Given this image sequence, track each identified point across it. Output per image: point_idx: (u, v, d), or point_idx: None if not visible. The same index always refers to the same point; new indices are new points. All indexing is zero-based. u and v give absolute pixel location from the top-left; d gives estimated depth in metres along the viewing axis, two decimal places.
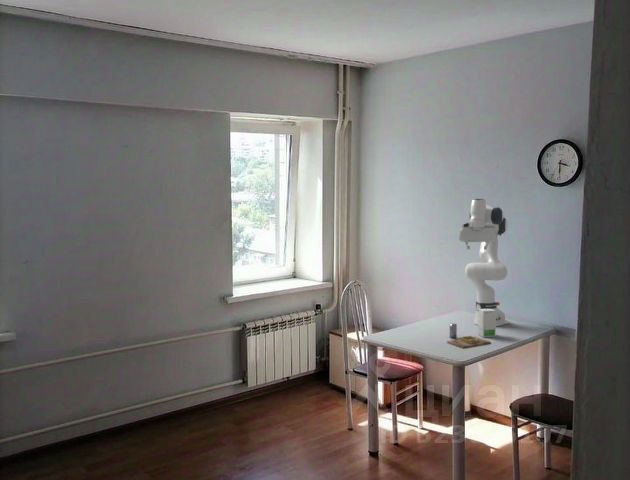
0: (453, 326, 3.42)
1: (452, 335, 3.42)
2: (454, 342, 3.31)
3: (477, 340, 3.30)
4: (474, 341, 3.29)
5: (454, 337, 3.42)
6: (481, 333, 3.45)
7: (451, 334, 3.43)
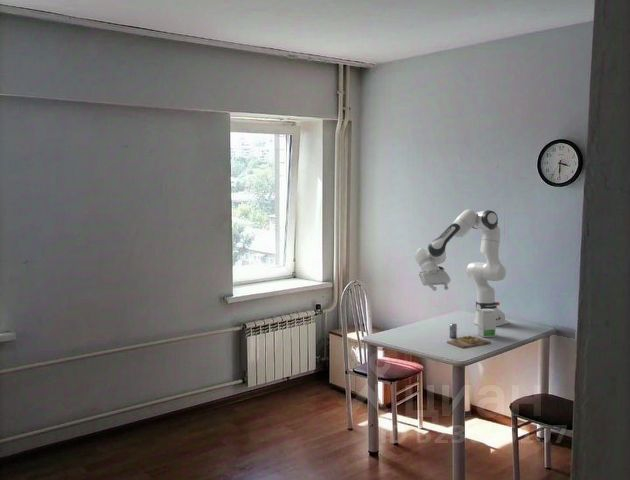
0: (453, 326, 3.42)
1: (452, 335, 3.42)
2: (454, 342, 3.31)
3: (477, 340, 3.30)
4: (474, 341, 3.29)
5: (454, 337, 3.42)
6: (481, 333, 3.45)
7: (451, 334, 3.43)
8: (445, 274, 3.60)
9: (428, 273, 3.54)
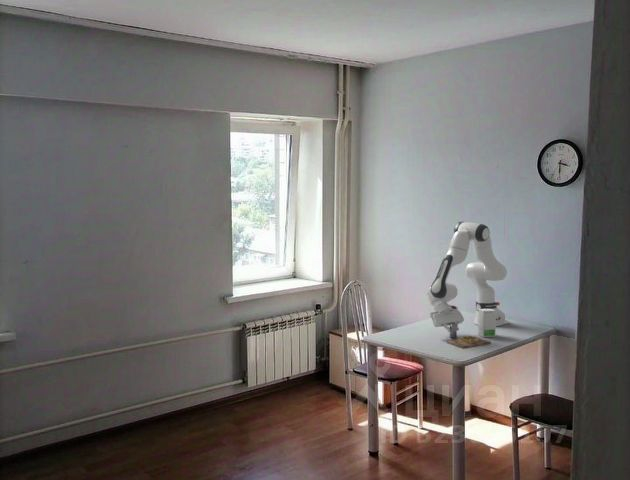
0: (453, 326, 3.42)
1: (452, 335, 3.42)
2: (454, 342, 3.31)
3: (477, 340, 3.30)
4: (474, 341, 3.29)
5: (454, 337, 3.42)
6: (481, 333, 3.45)
7: (451, 334, 3.43)
8: (458, 313, 3.51)
9: (440, 314, 3.46)
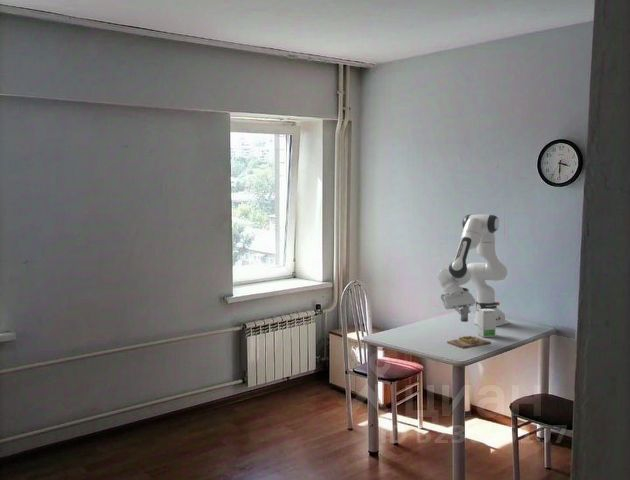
0: (464, 309, 3.31)
1: (464, 318, 3.32)
2: (454, 342, 3.31)
3: (477, 340, 3.30)
4: (474, 341, 3.29)
5: (465, 320, 3.32)
6: (481, 333, 3.45)
7: (462, 317, 3.32)
8: (470, 296, 3.40)
9: (451, 296, 3.36)
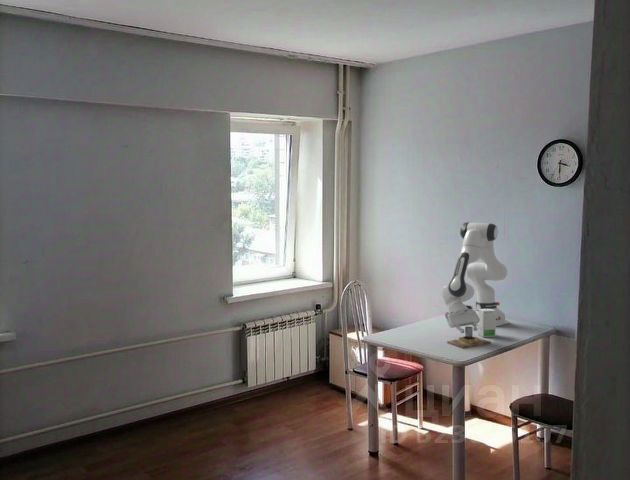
0: (469, 329, 3.30)
1: (468, 338, 3.30)
2: (454, 342, 3.31)
3: (477, 340, 3.30)
4: (474, 341, 3.29)
5: None
6: (481, 333, 3.45)
7: (467, 337, 3.31)
8: (474, 313, 3.39)
9: (455, 314, 3.34)
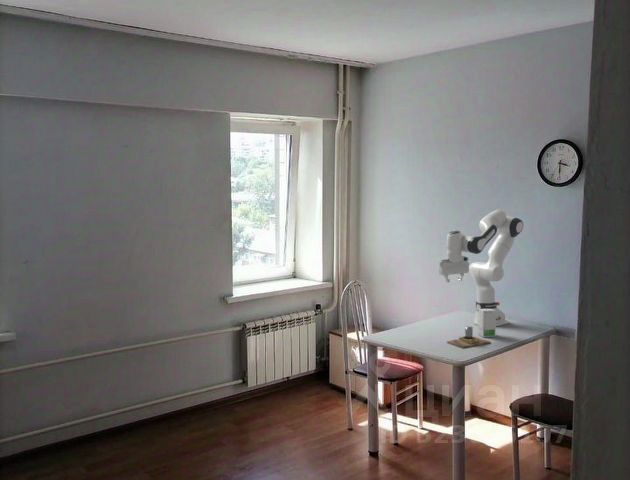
0: (469, 329, 3.30)
1: (468, 338, 3.30)
2: (454, 342, 3.31)
3: (477, 340, 3.30)
4: (474, 341, 3.29)
5: None
6: (481, 333, 3.45)
7: (467, 337, 3.31)
8: (466, 265, 3.54)
9: (449, 264, 3.48)
